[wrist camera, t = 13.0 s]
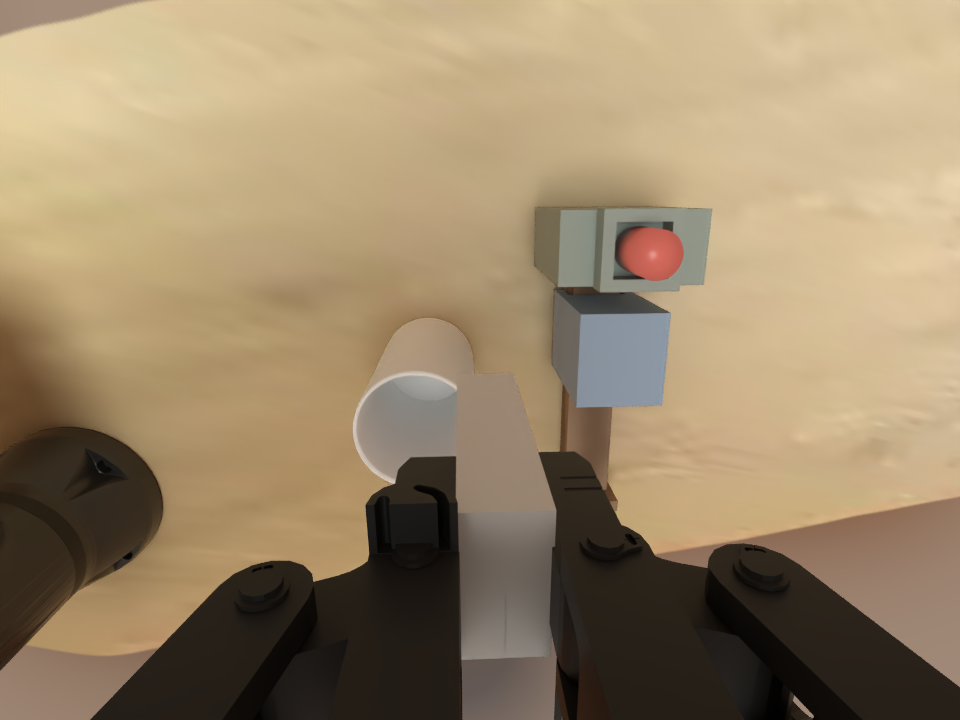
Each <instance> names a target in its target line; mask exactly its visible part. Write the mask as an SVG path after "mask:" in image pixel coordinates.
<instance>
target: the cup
mask: <svg viewBox="0 0 960 720" xmlns="http://www.w3.org/2000/svg"><path fill="white" fill-rule="evenodd" d="M457 374H475V372H474V361H473V353H472V349H471V346H470V344H469V341H468V340H467V338H466V337H465V335H464V334H463V333H462V332H461V331H460V330H459V329H458V328H457V327H456V326H454V325H453V324H451V323H449V322H447V321H444V320H441V319H437V318H420V319H416V320H413V321H410V322H408V323H406V324H404V325H403V326H402V327H400V328H399V329H398V330H397V331H396V332H395V333H394V334H393V336H392V337H391V339H390V340H389V343H388V345H387V347H386V349H385V351H384V353H383V355H382V357H381V359H380V361H379V363H378V365H377V367H376V369H375V371H374V373H373V375H372V377H371V379H370V381H369V383H368V385H367V387H366V389H365V391H364V393H363V396H362V398H361V400H360V402H359V404H358V406H357V409H356V411H355V415H354V420H353V438H354V443H355V446H356V449H357V451H358V454H359V455H360V457H361V459H362V460H363V462H364V463H365V464H366V465H367V467H368V468H369V469H370V470H371V471H372V472H374V473H375V474H376V475H377V476H379V477H380V478H382V479H384V480H386V481H388V482H390V483H392V484H395V481H396V477H397V472H398V469H399V468H400V467H401V466H402V465H403V464H404V463H405V462H406V461H407V460H408V459H409V458H410V457H441V456H456V428H457Z"/></svg>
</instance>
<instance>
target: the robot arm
mask: <svg viewBox="0 0 960 720" xmlns="http://www.w3.org/2000/svg"><path fill="white" fill-rule="evenodd" d="M161 517H162V499H161V494H160V490H159V487H158V485H157V482H156V480H155V478H154V476H153V475H152V473H151V471H150V470H149V469H148V467H147V466H146V465H145V463H144V462H143V461H142V460H141V459H140V458H139V457H138V456H137V455H136V454H135V453H134V452H132V451H131V450H130V449H129V448H127V447H126V446H125V445H123V444H121V443H120V442H118V441H116V440H115V439H113V438H110V437H108V436H106V435H104V434H101V433H98V432H95V431H91V430H87V429H81V428H72V427H61V428H52V429H47V430H43V431H40V432H37V433H35V434H33V435H30V436H29V437H27V438H25V439H23V440H21V441H20V442H18V443H16V444H14V445H12V446H11V447H9V448H8V449H6V450H5V451H4V452H3V453H1V454H0V670H1V669H2V668H3V667H4V666H5V665H6V664H7V663H8V662H9V661H10V660H11V659H12V658H13V657H14V656H15V655H16V654H17V653H18V652H19V651H20V649H22V648H23V647H24V646H25V644H26V643H27V642H28V641H29V640H30V639H31V638H32V637H33V636H34V635H35V634H36V633H37V632H38V631H39V630H40V629H41V628H42V627H43V626H44V625H45V624H46V623H47V621H48V620H49V619H50V618H51V617H52V616H53V615H54V614H55V613H56V612H57V611H58V610H59V609H60V608H61V607H62V606H63V605H64V604H65V603H66V602H67V601H68V600H69V599H70V598H71V596H72V595H73V594H75V593H76V592H77V591H78V590H80V589H82V588H84V587H86V586H88V585H90V584H92V583H93V582H95V581H97V580H99V579H101V578H103V577H105V576H107V575H109V574H110V573H112V572H114V571H116V570H118V569H120V568H122V567H123V566H125V565H126V564H128V563H129V562H130V561H132V560H133V559H134V558H135V557H136V556H137V555H138V554H139V553H140V552H141V551H142V550H143V549H144V547H145V546H146V545H147V544H148V543H149V542H150V541H151V539H152V538H153V537H154V535H155V534H156V532H157V530H158V527H159V525H160V521H161ZM366 517H367V530H368V542H369V558H368V561H367V562H366V563H365V564H363V565H362V566H360V567H358V568H356V569H354V570H352V571H350V572H347V573H344V574H341V575H339V576H335V577H331V578H327V579H323V580H320V581H316V582H313V577H312V573H311V572H310V571H309V570H308V569H307V568H306V567H305V566H304V565H301V564H298V563H295V562H291V561H269V562H264V563H260V564H256V565H252V566H250V567H248V568H246V569H244V570H242V571H239V572H237V573H235V574H234V575H232V576H231V577H230V578H228V579H227V580H226V581H225V582H223V583H222V584H221V585H220V586H219V587H218V588H217V589H216V590H215V591H214V592H213V593H212V594H211V595H210V596H209V597H208V598H207V599H206V600H205V601H204V602H203V603H202V604H201V605H200V606H199V607H198V608H197V609H196V610H195V611H194V613H193V614H192V615H191V616H190V617H189V618H188V619H187V620H186V621H185V622H184V623H183V624H182V625H181V626H180V627H179V628H178V629H177V630H176V631H175V632H174V633H173V634H172V635H171V636H170V637H169V638H168V640H167V641H166V642H165V643H164V644H163V645H162V646H161V647H160V648H159V649H158V650H157V651H156V652H155V653H154V654H153V655H152V656H151V657H150V658H149V659H148V660H147V661H146V662H145V663H144V665H143V666H142V667H141V668H140V669H139V670H138V671H137V672H136V673H135V674H134V675H133V676H132V677H131V678H130V679H129V680H128V681H127V682H126V683H125V684H124V685H123V686H122V687H121V688H120V689H119V690H118V692H117V693H116V694H115V695H114V696H113V697H112V698H111V699H110V700H109V701H108V702H107V703H106V704H105V705H104V706H103V707H102V708H101V709H100V710H99V711H98V712H97V713H96V714H95V715H94V716H93V718H92V719H91V720H462V668H461V660H466V659H492V658H518V657H544V656H551V639H552V637H553V642H554V646H555V651H556V656H557V664H556V689H555V711H554V720H561V719H562V720H960V687H959V686H957V685H956V684H955V683H954V682H952V681H951V680H950V679H948V678H947V677H946V676H944V675H943V674H942V673H940V672H939V671H938V670H936V669H935V668H934V667H933V666H931V665H930V664H929V663H927V662H926V661H925V660H923V659H922V658H921V657H920V656H918V655H917V654H916V653H914V652H913V651H912V650H910V649H909V648H908V647H906V646H905V645H904V644H903V643H901V642H900V641H899V640H897V639H896V638H895V637H893V636H892V635H891V634H889V633H888V632H887V631H885V630H884V629H883V628H882V627H880V626H879V625H878V624H876V623H875V622H874V621H872V620H871V619H870V618H869V617H867V616H866V615H864V614H863V613H862V612H861V611H859V610H858V609H857V608H855V607H854V606H853V605H851V604H850V603H849V602H847V601H846V600H845V599H844V598H842V597H841V596H839V595H838V594H837V593H836V592H835V591H833V590H832V589H830V588H829V587H828V586H827V585H825V584H824V583H823V582H821V581H820V580H819V579H817V578H816V577H815V576H814V575H812V574H811V573H810V572H808V571H807V570H806V569H804V568H803V567H802V566H801V565H799V564H797V563H796V562H794V561H792V560H791V559H789V558H788V557H786V556H784V555H783V554H781V553H778V552H775V551H772V550H769V549H767V548H765V547H761V546H757V545H750V544H728V545H724V546H722V547H720V548H718V549H715V550H714V551H713V553H712V554H711V556H710V557H709V561H708V568H703V567H698V566H692V565H687V564H681V563H676V562H672V561H668V560H664V559H661V558H659V557H656V556H655V555H654V553H653V552H652V550H651V548H650V546H649V544H648V543H647V542H646V541H645V540H644V539H643V538H642V536H641V535H640V534H638V533H636V532H635V531H633V530H631V529H630V528H628V527H626V526H622V525H621V524H620V522H619V520H618V518H617V516H616V514H615V512H614V510H613V508H612V506H611V504H610V502H609V500H608V498H607V496H606V494H605V492H604V490H602V486H601V483H600V481H599V479H597V475H596V473H595V471H594V469H593V467H592V465H591V463H590V462H589V461H587V460H586V459H585V458H583V457H582V456H580V455H579V454H578V453H576V452H575V451H571V452H538V450H537V447H536V444H535V441H534V437H533V434H532V431H531V428H530V425H529V421H528V418H527V415H526V412H525V409H524V406H523V402H522V399H521V396H520V393H519V390H518V386H517V383H516V380H515V377H514V374H513V373H476V374H457V428H456V456H441V457H410V458H409V459H408V460H407V461H406V462H405V463H404V464H403V465H402V466H401V467H400V468H399V469H398V472H397V477H396V481H395V484H393V485H390V486H387V487H384V488H382V489H381V490H379V491H378V492H376V493H375V494H373V495H372V496H371V498H370V499H369V501H368V502H367V504H366ZM794 695H795V696H796V697H797V698H798V699H799V701H800V702H801V703H802V704H803V705H804V706H805V707H806V708H807V709H808V710H809V711H810V712H811V713H812V714H813V715H814V718H811V717H809V716H808V715H807V714H805V713H804V712H803V711H802V710H801V709H800V708H799V707H798V706H797V705H796V704H795V703H794V702H793V697H794Z"/></svg>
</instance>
